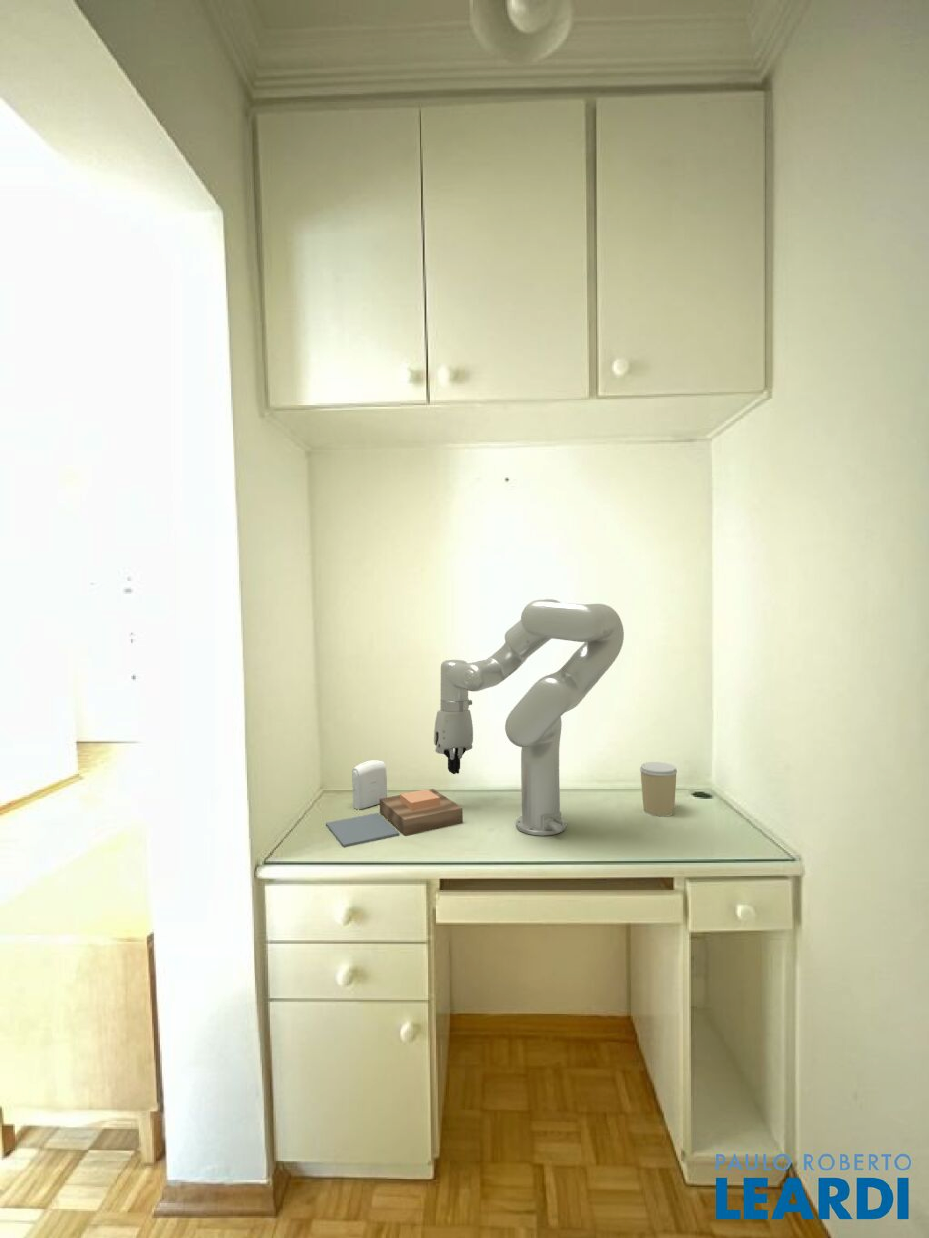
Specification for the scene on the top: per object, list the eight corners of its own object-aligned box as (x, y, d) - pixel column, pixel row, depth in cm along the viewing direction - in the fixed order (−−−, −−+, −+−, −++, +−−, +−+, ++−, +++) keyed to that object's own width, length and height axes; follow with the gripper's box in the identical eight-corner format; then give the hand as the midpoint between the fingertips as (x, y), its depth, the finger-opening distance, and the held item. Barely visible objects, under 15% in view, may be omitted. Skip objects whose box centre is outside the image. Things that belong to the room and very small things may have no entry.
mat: (399, 835, 148) (399, 832, 148) (343, 847, 142) (343, 844, 142) (377, 814, 162) (377, 812, 162) (325, 825, 156) (325, 822, 156)
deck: (462, 823, 155) (462, 807, 155) (404, 835, 148) (404, 819, 148) (433, 802, 171) (433, 788, 171) (379, 813, 164) (379, 798, 164)
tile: (439, 804, 158) (439, 797, 157) (411, 810, 154) (411, 802, 154) (427, 796, 165) (427, 789, 165) (400, 801, 161) (399, 793, 161)
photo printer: (359, 811, 166) (357, 766, 165) (350, 807, 169) (349, 763, 168) (389, 801, 173) (388, 759, 172) (380, 798, 176) (379, 756, 175)
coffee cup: (684, 812, 160) (684, 767, 159) (662, 820, 154) (661, 773, 154) (655, 802, 167) (655, 759, 167) (633, 810, 162) (632, 765, 162)
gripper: (472, 701, 170) (471, 765, 171) (423, 705, 163) (423, 772, 164) (485, 705, 164) (484, 772, 165) (435, 710, 157) (434, 780, 158)
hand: (453, 772), depth 164 cm, fingers closed
